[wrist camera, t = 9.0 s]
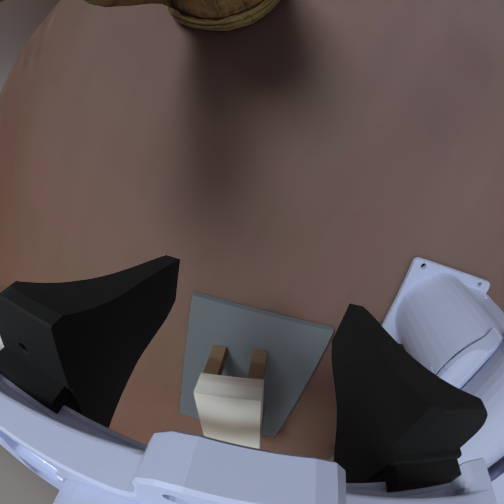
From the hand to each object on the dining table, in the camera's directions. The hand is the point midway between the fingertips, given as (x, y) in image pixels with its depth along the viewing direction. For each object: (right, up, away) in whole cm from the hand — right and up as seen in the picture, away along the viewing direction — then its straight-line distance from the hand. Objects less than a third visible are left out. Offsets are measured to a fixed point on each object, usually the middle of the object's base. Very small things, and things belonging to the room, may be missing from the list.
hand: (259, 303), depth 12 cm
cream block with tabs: (-1, -11, +15) cm, 18 cm away
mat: (-1, -11, +15) cm, 19 cm away
